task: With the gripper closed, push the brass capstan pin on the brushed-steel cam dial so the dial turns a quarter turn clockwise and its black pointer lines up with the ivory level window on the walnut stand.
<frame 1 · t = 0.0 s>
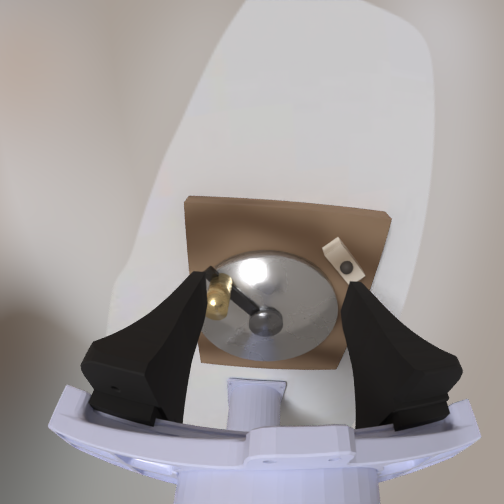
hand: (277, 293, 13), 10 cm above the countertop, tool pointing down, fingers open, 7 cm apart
cam dial: (263, 326, 23), point 4 cm above the countertop, hinge at 0.0°
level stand: (279, 298, 27), on the countertop
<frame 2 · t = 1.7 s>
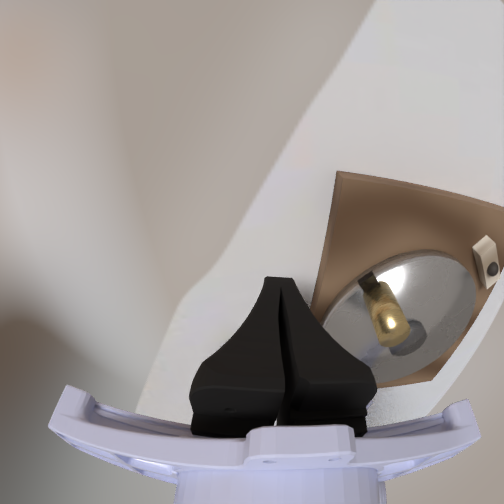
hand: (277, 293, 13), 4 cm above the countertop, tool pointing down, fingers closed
cam dial: (408, 344, 16), point 4 cm above the countertop, hinge at 0.0°
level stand: (405, 307, 19), on the countertop
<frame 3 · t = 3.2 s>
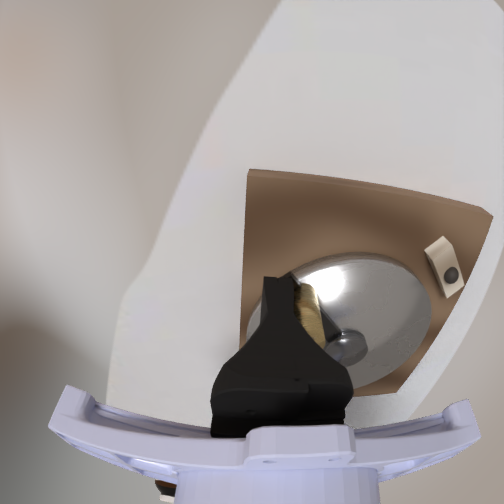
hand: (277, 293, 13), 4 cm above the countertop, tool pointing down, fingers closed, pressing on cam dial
cam dial: (344, 356, 16), point 4 cm above the countertop, hinge at -3.0°, touching gripper
spread jar: (183, 456, 44), on the countertop
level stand: (352, 315, 19), on the countertop
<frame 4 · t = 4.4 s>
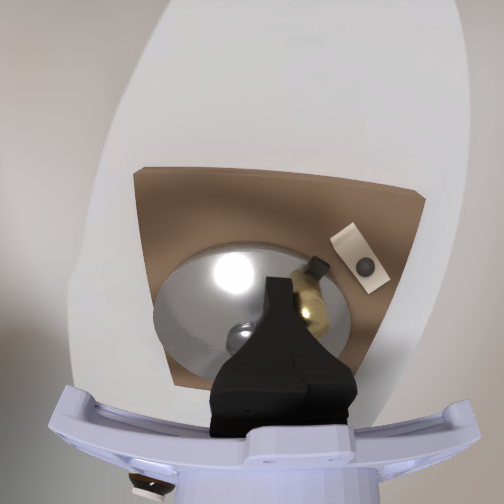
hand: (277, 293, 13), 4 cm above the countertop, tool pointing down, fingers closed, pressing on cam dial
cam dial: (252, 349, 16), point 4 cm above the countertop, hinge at -73.0°, touching gripper
spread jar: (156, 451, 44), on the countertop
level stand: (270, 309, 20), on the countertop
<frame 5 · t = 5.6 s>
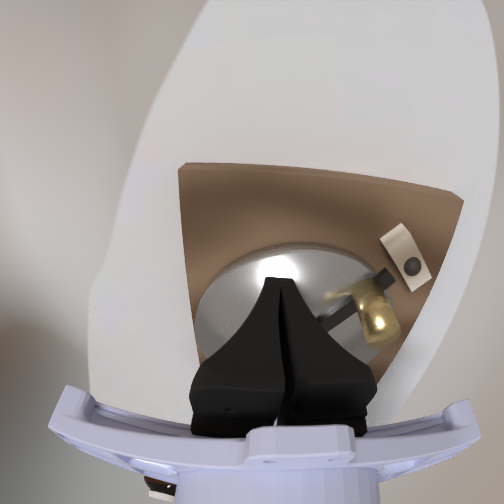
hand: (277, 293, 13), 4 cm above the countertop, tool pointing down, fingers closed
cam dial: (301, 352, 16), point 4 cm above the countertop, hinge at -83.5°
spread jar: (172, 452, 44), on the countertop
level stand: (310, 309, 19), on the countertop
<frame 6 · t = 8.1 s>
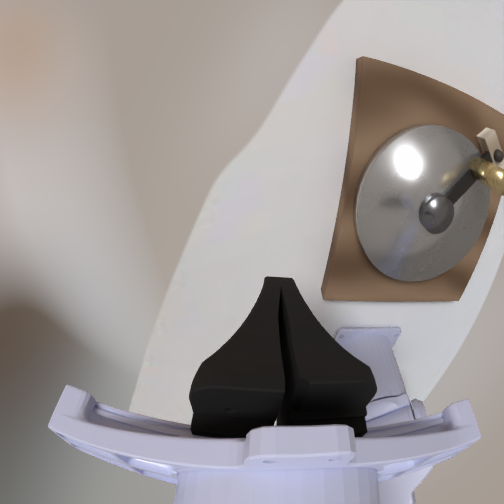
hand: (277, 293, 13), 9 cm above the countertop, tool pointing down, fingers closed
cam dial: (444, 215, 16), point 4 cm above the countertop, hinge at -83.5°
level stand: (428, 199, 20), on the countertop
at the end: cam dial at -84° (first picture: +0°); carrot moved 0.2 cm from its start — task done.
